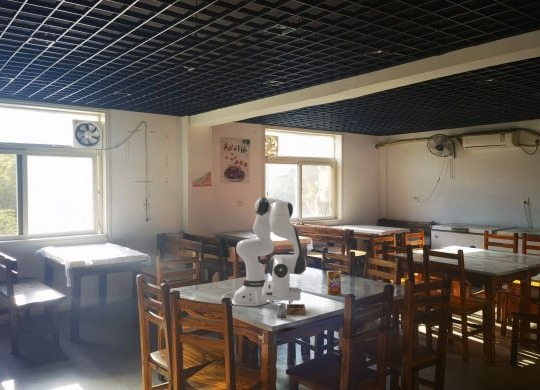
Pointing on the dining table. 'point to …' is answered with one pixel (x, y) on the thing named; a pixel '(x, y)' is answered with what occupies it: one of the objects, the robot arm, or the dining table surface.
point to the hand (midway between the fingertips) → (281, 302)
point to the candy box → (333, 282)
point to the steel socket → (281, 310)
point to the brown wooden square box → (295, 309)
